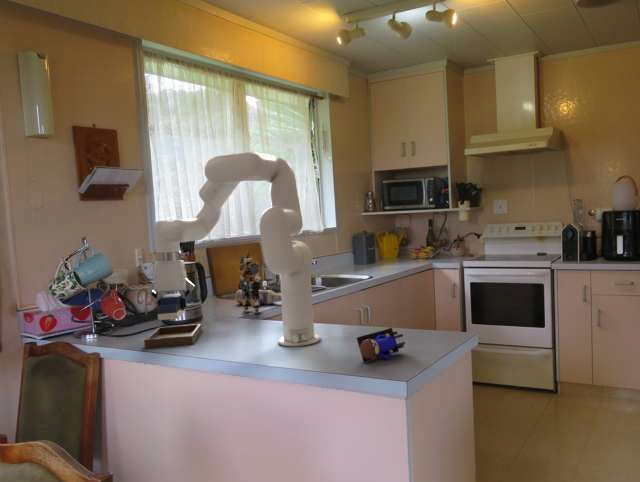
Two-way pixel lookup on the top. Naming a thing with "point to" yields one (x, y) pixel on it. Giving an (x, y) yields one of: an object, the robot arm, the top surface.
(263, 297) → the decorative bottle
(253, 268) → the toy
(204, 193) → the robot arm
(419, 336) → the top surface
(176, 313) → the navy stepped block
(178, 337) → the tray
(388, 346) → the character figurine
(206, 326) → the top surface
